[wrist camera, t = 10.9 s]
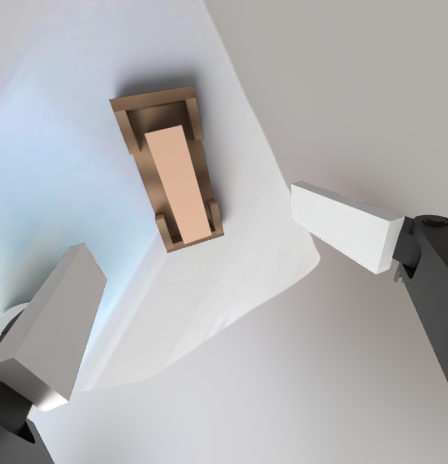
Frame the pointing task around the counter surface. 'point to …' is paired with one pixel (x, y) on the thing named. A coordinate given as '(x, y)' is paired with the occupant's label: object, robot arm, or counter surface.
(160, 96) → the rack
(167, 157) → the peach rectangular block
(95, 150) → the counter surface
